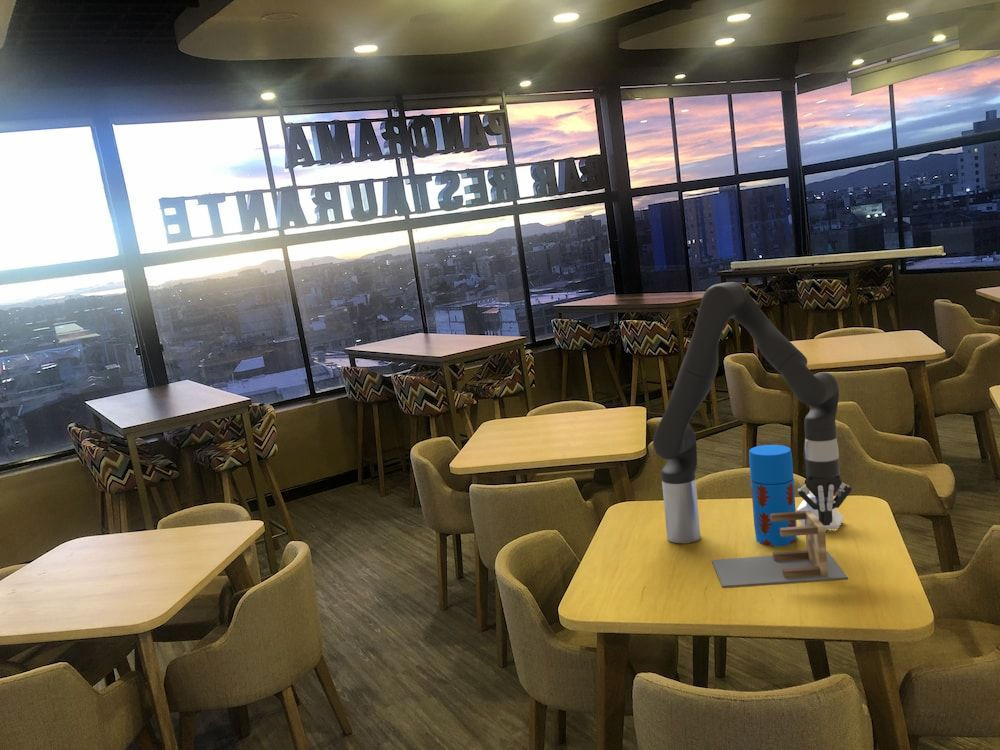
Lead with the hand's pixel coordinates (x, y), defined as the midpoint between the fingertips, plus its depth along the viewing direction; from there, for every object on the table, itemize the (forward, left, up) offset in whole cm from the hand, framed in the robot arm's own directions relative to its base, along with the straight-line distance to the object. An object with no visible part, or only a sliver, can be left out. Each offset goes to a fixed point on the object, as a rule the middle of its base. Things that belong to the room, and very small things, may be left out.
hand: (825, 524), depth 196 cm
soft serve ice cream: (-29, +6, -11) cm, 31 cm away
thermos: (-20, -8, -11) cm, 24 cm away
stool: (0, -7, -10) cm, 12 cm away
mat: (0, -12, -11) cm, 16 cm away
